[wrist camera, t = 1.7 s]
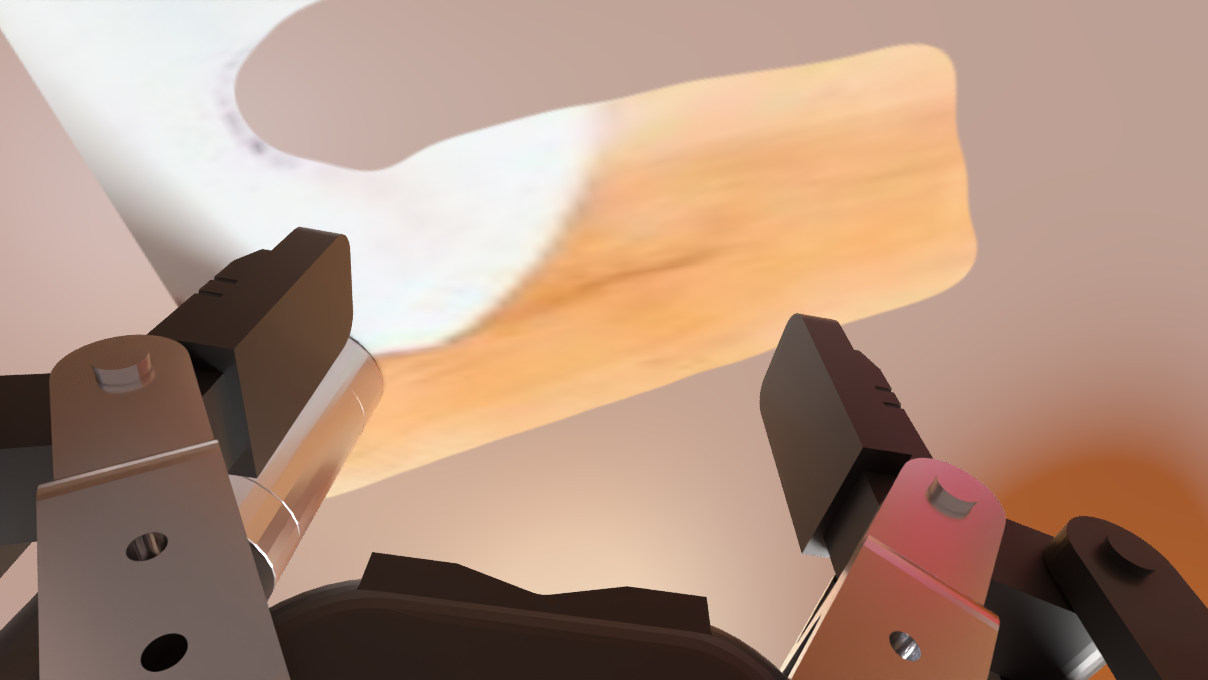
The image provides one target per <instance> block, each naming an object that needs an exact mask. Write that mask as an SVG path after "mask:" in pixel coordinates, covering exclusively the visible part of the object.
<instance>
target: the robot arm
mask: <svg viewBox="0 0 1208 680" xmlns="http://www.w3.org/2000/svg"><path fill="white" fill-rule="evenodd" d="M352 320H353V301H352V280H351V258H350V245H349V241H348V239H347V237H346V236H345V235H343V234H338V233H332V232H326V231H320V230H315V229H309V228H303V227H298V228H296V229H294V230H293V231H292V232H291V233H290V234H289V235H288V236H287V237H286V238H285V239H284V240H282V241H281V242H280V243H279V244H278V245H277V246H276V247H275V248H274V249H273V250H272V251H270V250H265V249H261V250H259V251H256V252H254V253H251V254H249V255H246V256H244V257H241V258H239V259H236V260H234V261H232V262H231V263H230V264H229V265H228V266H227V267H225V268H224V269H223V270H222V271H221V272H219V273H218V274H217V275H216V276H215V279H214V280H210V281H209V282H208V283H207V284H205V285H204V286H203V287H202V288H201V289H200V290H199V293H198V294H194V295H192V296H191V297H190V298H189V299H188V300H187V301H185V302H184V303H183V304H182V305H181V306H180V307H178V308H177V309H176V310H175V311H174V312H173V313H171V314H170V315H169V316H168V317H167V318H165V319H164V320H163V321H162V322H161V323H160V324H158V325H157V326H156V327H155V328H154V329H153V330H151V331H150V332H149V333H148V334H147V335H126V336H119V337H113V338H108V339H104V340H101V341H97V342H94V343H91V344H88V345H85V346H83V347H81V348H79V349H77V350H75V351H73V352H71V353H70V354H68V355H67V356H65V357H64V358H63V359H62V360H60V361H59V362H58V363H57V364H56V366H55V367H54V368H53V370H52V372H51V373H48V374H31V375H29V374H28V375H5V376H0V578H1V577H2V576H3V574H4V573H5V572H6V571H7V570H8V569H9V568H10V567H11V565H12V564H13V563H14V562H15V561H16V559H18V557H19V556H20V555H21V554H22V553H23V552H24V550H25V549H26V548H27V547H28V546H29V545H30V544H31V543H32V542H36V541H37V563H38V592H37V594H36V595H35V596H34V597H33V598H32V599H31V600H30V601H29V602H28V603H27V604H26V605H25V606H24V607H23V608H22V609H21V610H20V611H19V612H18V614H16V615H15V616H14V617H13V618H12V620H10V621H9V622H8V623H7V624H6V626H5V627H4V628H3V629H2V630H1V631H0V680H1088V679H1089V678H1090V677H1091V676H1092V675H1094V674H1095V673H1096V672H1097V671H1098V670H1100V669H1101V668H1102V667H1103V666H1104V665H1106V664H1107V665H1108V667H1109V668H1110V670H1111V672H1112V673H1113V675H1114V677H1115V678H1116V680H1208V609H1207V607H1206V606H1205V605H1204V604H1203V602H1201V600H1200V599H1199V598H1198V596H1197V595H1196V594H1195V593H1194V591H1193V590H1192V589H1191V588H1190V586H1189V585H1188V584H1187V583H1186V582H1185V580H1184V579H1183V578H1182V577H1181V575H1180V574H1179V573H1178V572H1177V570H1176V569H1175V568H1174V567H1173V566H1172V565H1171V564H1170V563H1169V561H1168V560H1167V559H1166V558H1165V557H1164V556H1162V555H1161V554H1160V553H1159V552H1158V551H1157V550H1156V549H1154V548H1153V547H1152V546H1151V545H1149V544H1148V543H1147V542H1145V541H1144V540H1142V539H1141V538H1139V537H1138V536H1136V535H1135V534H1133V533H1131V532H1130V531H1128V530H1126V529H1124V528H1122V527H1120V526H1118V525H1115V524H1113V523H1111V522H1108V521H1105V520H1102V519H1098V518H1095V517H1088V516H1079V517H1075V518H1073V519H1071V520H1070V521H1069V522H1068V523H1067V524H1066V525H1065V526H1064V527H1063V528H1062V530H1061V531H1060V532H1059V533H1058V534H1057V535H1056V536H1055V537H1053V536H1050V535H1047V534H1045V533H1042V532H1040V531H1037V530H1034V529H1032V528H1029V527H1027V526H1024V525H1021V524H1019V523H1016V522H1014V521H1011V520H1008V519H1006V517H1005V512H1004V510H1003V508H1002V506H1001V504H1000V502H999V501H998V499H997V498H996V497H995V496H994V494H993V493H992V492H991V491H990V490H989V489H988V488H987V487H986V486H985V485H984V484H982V483H981V482H980V481H979V480H977V479H976V478H974V477H973V476H972V475H970V474H969V473H967V472H965V471H964V470H962V469H960V468H958V467H956V466H954V465H951V464H949V463H946V462H943V461H939V460H936V459H933V458H932V456H931V454H930V453H929V451H928V449H927V448H926V446H925V444H924V443H923V441H922V439H921V438H920V436H919V434H918V432H917V431H916V429H915V427H914V426H913V424H912V422H911V421H910V419H909V417H908V416H907V414H906V412H905V411H904V409H901V404H900V402H899V401H898V399H897V397H896V395H895V394H894V393H893V392H891V387H890V385H889V384H888V382H887V380H886V379H885V377H884V375H883V374H882V372H881V370H880V369H879V368H878V367H877V366H876V365H874V364H873V363H872V362H871V361H870V360H869V359H868V358H867V357H866V356H865V355H864V354H862V353H861V352H860V351H857V350H854V349H853V347H852V345H851V344H850V342H849V340H848V338H847V336H846V335H845V333H844V331H843V329H842V327H841V326H840V324H839V323H838V322H837V321H836V320H832V319H826V318H821V317H815V316H809V315H803V314H798V313H797V314H794V315H793V316H792V317H791V318H790V319H789V321H788V322H787V325H786V327H785V329H784V332H783V334H782V336H781V339H780V341H779V344H778V346H777V348H776V351H775V353H774V356H773V358H772V361H771V363H770V365H769V368H768V370H767V372H766V375H765V378H764V380H763V383H762V387H761V392H760V411H761V415H762V419H763V422H764V425H765V429H766V432H767V436H768V439H769V443H770V446H771V449H772V453H773V456H774V460H775V463H776V466H777V469H778V473H779V477H780V480H781V484H782V487H783V491H784V494H785V497H786V501H787V504H788V508H789V511H790V515H791V518H792V521H793V525H794V528H795V531H796V535H797V538H798V542H799V545H800V549H801V552H802V554H806V555H814V556H820V557H827V558H830V559H831V562H832V565H833V568H834V570H835V575H834V576H833V578H832V579H831V581H830V582H829V584H828V586H827V588H826V589H825V591H824V593H823V594H822V596H821V598H820V600H819V602H818V603H817V605H816V607H815V609H814V610H813V612H812V614H811V616H810V617H809V619H808V621H807V623H806V625H805V626H804V628H803V630H802V632H801V633H800V635H799V637H798V639H797V640H796V642H795V644H794V646H793V648H792V649H791V651H790V653H789V655H788V656H787V658H786V660H785V662H784V663H783V665H782V667H781V668H780V670H779V669H777V667H776V666H775V665H773V664H772V663H771V662H770V661H769V660H767V659H766V658H765V657H764V656H762V655H761V654H760V653H759V652H758V651H756V650H755V649H753V648H752V647H750V646H749V645H747V644H746V643H744V642H742V641H741V640H740V639H738V638H736V637H734V636H732V635H730V634H728V633H727V632H725V631H723V630H721V629H719V628H716V627H714V626H711V625H710V620H709V612H708V604H707V598H706V597H702V596H695V595H687V594H680V593H672V592H665V591H657V590H650V589H643V588H635V587H628V586H627V587H619V588H618V587H617V588H608V589H599V590H590V591H580V592H571V593H562V594H554V595H541V594H536V593H532V592H530V591H527V590H524V589H522V588H519V587H517V586H514V585H511V584H509V583H506V582H503V581H501V580H498V579H496V578H493V577H491V576H488V575H486V574H483V573H480V572H478V571H475V570H472V569H470V568H467V567H465V566H462V565H459V564H457V563H449V562H441V561H434V560H427V559H419V558H412V557H404V556H397V555H390V554H382V553H375V552H372V554H371V557H370V560H369V562H368V564H367V567H366V569H365V572H364V575H363V577H362V579H358V580H349V581H344V582H340V583H334V584H330V585H325V586H322V587H319V588H316V589H313V590H309V591H306V592H303V593H301V594H298V595H296V596H294V597H291V598H289V599H286V600H284V601H282V602H280V603H278V604H276V605H274V606H272V607H270V608H268V604H267V601H268V599H269V598H270V596H271V594H272V592H273V590H274V588H275V586H276V584H277V582H278V581H279V579H280V577H281V575H282V574H283V572H284V570H285V568H286V566H287V565H288V563H289V561H290V559H291V557H292V556H293V554H294V552H295V550H296V548H297V546H298V545H299V543H300V541H301V539H302V537H303V536H304V534H305V532H306V530H307V528H308V527H309V525H310V523H311V521H312V520H313V518H314V516H315V514H316V512H317V511H318V509H319V507H320V505H321V503H322V502H323V500H324V498H325V497H326V495H327V493H328V491H329V489H330V488H331V486H332V484H333V482H334V481H335V479H336V477H337V475H338V473H339V472H340V470H341V468H342V466H343V465H344V463H345V461H346V459H347V457H348V456H349V454H350V452H351V450H352V449H353V447H354V445H355V443H356V441H357V440H358V438H359V436H360V435H361V433H362V431H363V430H364V428H365V426H366V424H367V422H368V421H369V419H370V417H371V415H372V413H373V412H374V410H375V408H376V406H377V404H378V403H379V401H380V398H381V396H382V393H383V381H382V376H381V373H380V371H379V369H378V366H377V364H376V363H375V362H374V360H373V359H372V357H371V356H370V355H369V354H368V353H367V352H366V351H365V350H364V349H363V348H362V347H361V346H360V345H358V344H357V343H356V342H354V341H353V340H351V339H350V338H349V335H350V331H351V327H352Z"/></svg>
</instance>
